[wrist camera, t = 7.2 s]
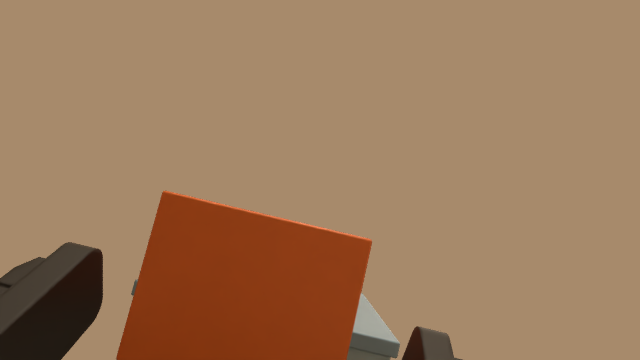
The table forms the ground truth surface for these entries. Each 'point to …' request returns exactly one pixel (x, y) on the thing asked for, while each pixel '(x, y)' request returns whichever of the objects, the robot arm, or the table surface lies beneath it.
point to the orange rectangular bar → (243, 287)
